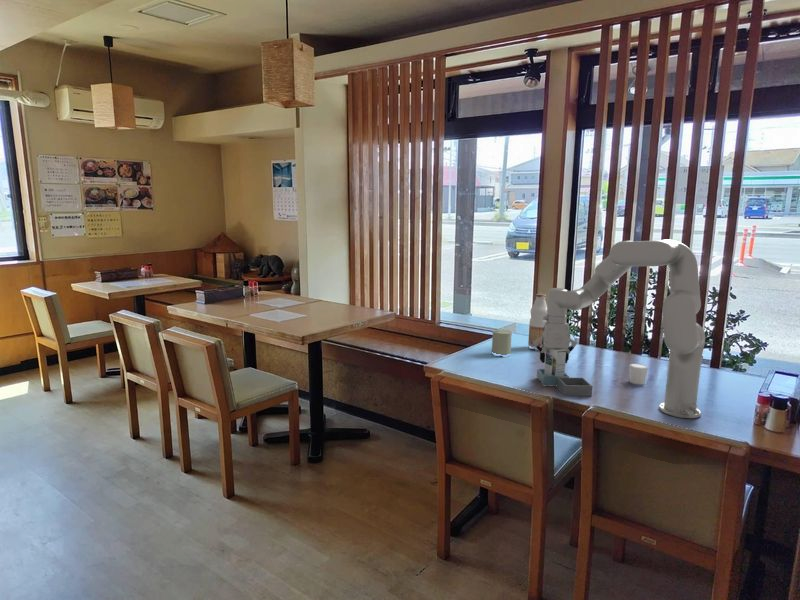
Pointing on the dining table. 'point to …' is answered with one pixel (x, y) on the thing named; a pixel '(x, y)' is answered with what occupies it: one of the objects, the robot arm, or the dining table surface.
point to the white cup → (638, 373)
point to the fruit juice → (537, 319)
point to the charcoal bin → (574, 386)
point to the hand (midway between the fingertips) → (553, 361)
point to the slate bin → (548, 377)
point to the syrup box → (555, 362)
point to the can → (501, 342)
